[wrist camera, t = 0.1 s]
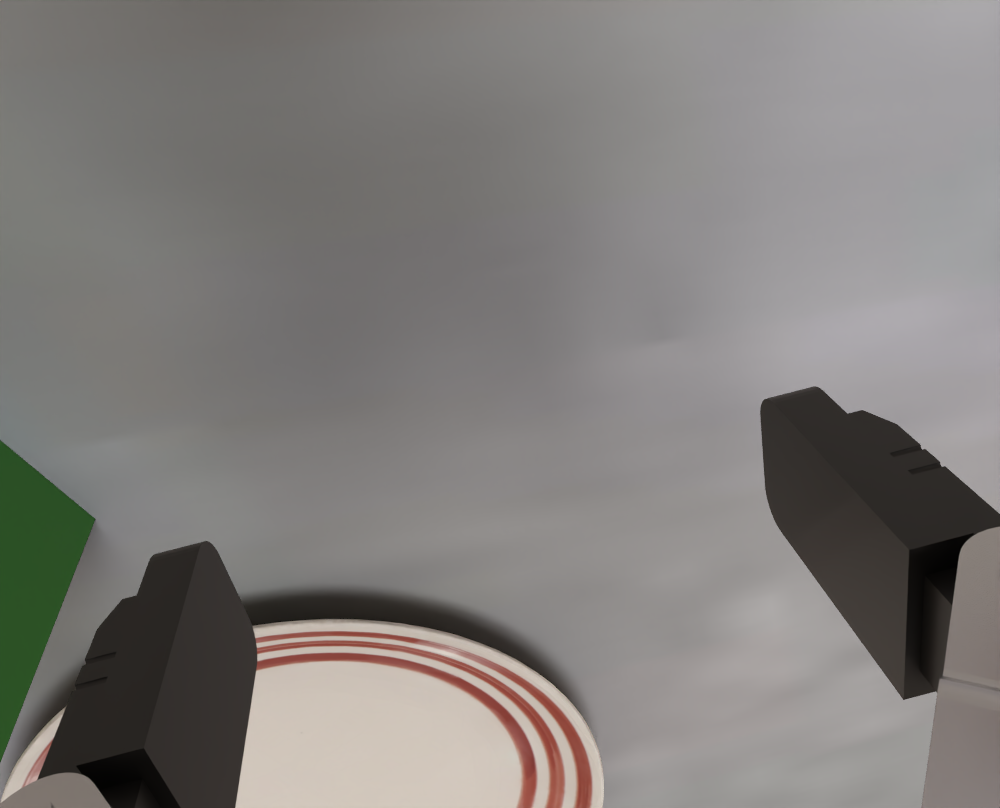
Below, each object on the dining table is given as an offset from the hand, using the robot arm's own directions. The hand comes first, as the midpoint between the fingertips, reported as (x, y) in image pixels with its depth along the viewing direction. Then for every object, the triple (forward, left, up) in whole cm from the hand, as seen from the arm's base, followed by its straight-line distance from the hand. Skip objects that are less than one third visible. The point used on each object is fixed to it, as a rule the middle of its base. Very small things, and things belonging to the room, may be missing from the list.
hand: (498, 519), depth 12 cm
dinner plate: (+29, -12, -18) cm, 36 cm away
